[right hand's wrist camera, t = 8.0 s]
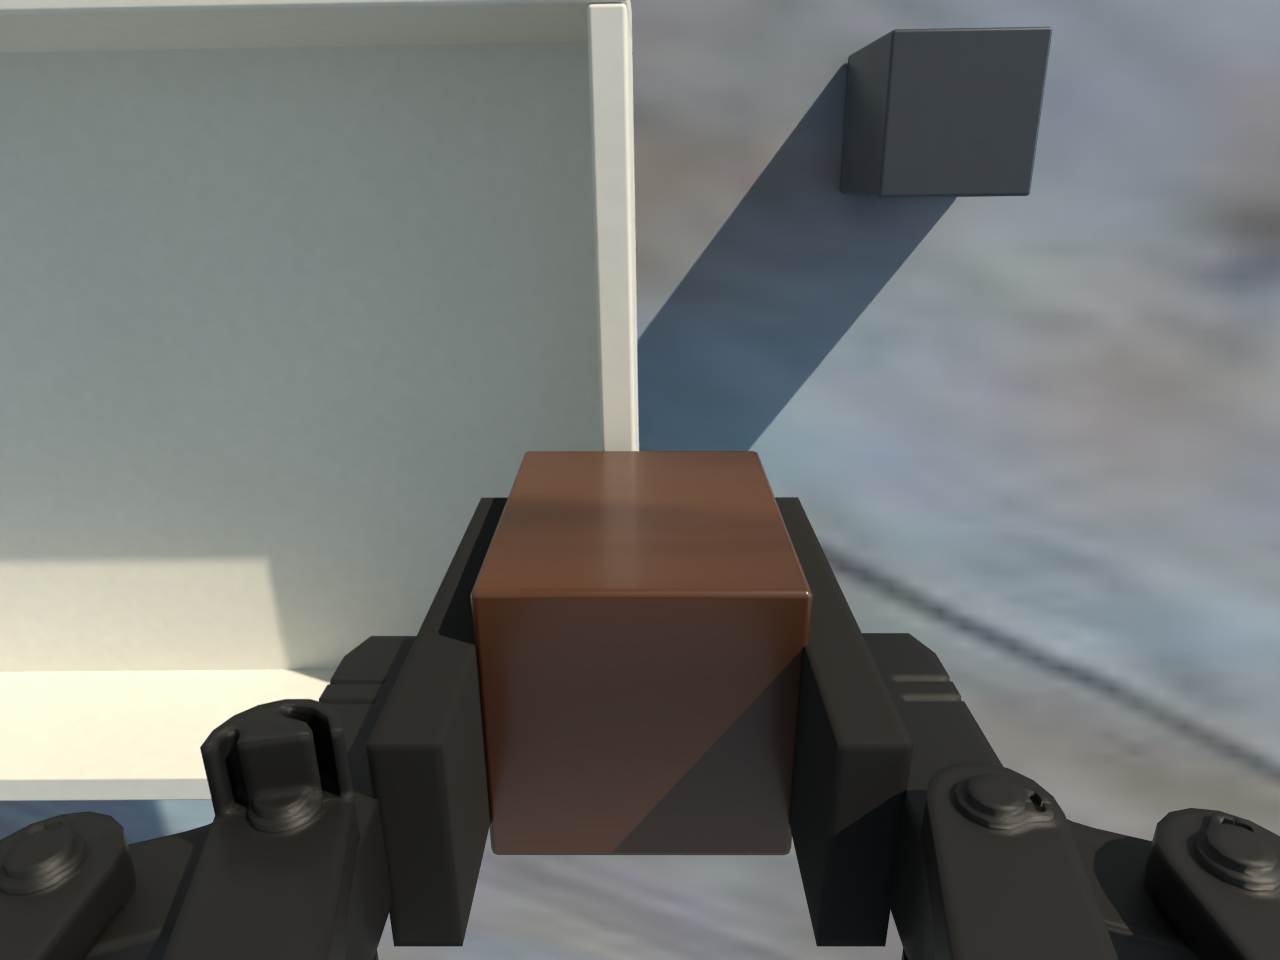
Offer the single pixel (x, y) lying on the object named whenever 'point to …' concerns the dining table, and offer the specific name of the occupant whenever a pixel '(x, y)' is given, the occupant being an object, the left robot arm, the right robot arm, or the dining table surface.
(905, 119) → the charcoal block
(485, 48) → the tray
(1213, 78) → the dining table surface
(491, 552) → the walnut block
